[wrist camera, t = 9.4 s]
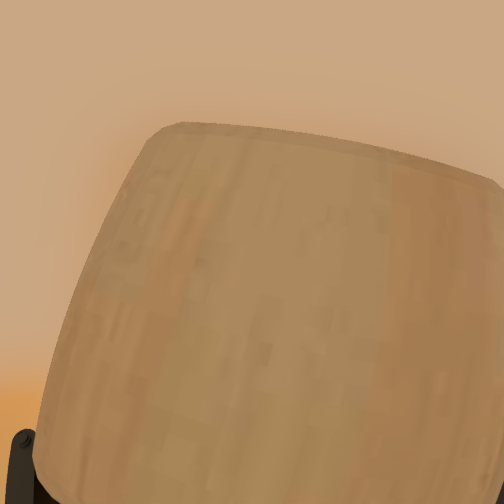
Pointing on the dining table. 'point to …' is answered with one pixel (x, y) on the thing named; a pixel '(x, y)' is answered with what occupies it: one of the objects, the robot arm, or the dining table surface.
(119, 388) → the wooden block
